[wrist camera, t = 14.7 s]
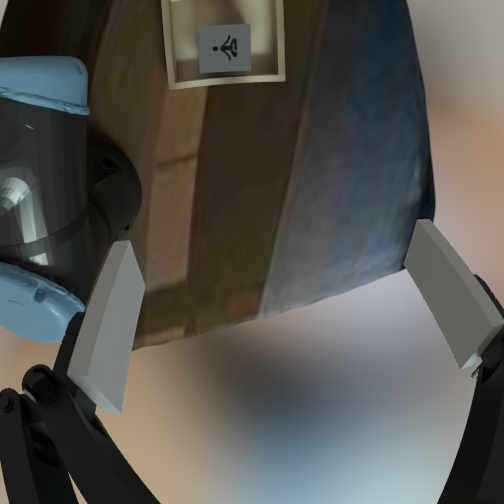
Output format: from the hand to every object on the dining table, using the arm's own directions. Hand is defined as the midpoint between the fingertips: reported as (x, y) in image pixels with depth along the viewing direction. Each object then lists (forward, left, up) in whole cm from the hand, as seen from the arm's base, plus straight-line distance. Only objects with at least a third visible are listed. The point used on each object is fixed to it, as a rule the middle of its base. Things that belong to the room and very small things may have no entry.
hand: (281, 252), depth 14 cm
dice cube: (-2, +8, -26) cm, 28 cm away
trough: (-2, +10, -27) cm, 29 cm away
